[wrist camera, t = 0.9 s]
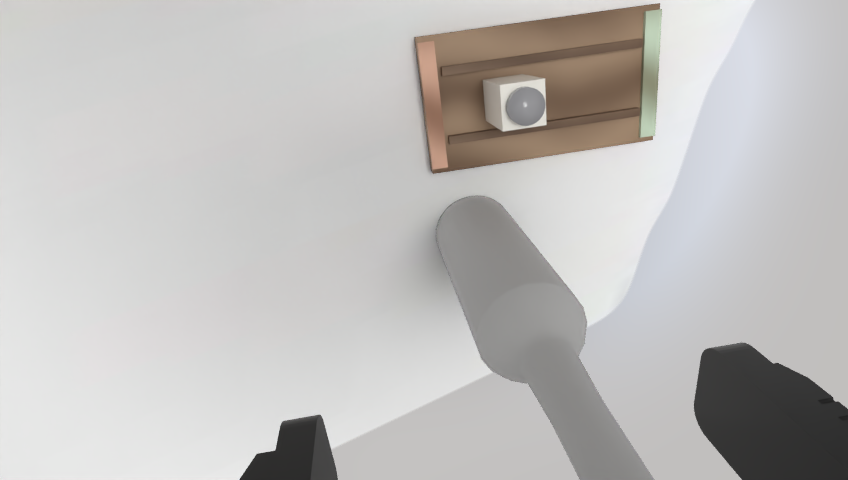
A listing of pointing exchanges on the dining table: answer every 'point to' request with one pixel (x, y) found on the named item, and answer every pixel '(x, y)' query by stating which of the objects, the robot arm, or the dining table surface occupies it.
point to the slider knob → (515, 102)
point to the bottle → (532, 332)
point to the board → (564, 85)
